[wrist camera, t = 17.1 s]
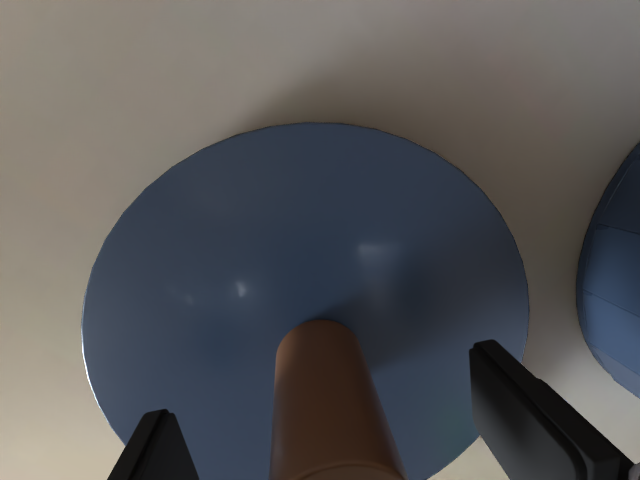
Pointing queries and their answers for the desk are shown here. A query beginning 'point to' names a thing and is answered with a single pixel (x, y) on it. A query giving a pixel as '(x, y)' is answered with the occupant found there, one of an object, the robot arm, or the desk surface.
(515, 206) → the desk surface
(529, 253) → the desk surface
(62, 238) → the desk surface
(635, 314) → the tin
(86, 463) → the desk surface
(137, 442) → the robot arm
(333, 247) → the tin lid
